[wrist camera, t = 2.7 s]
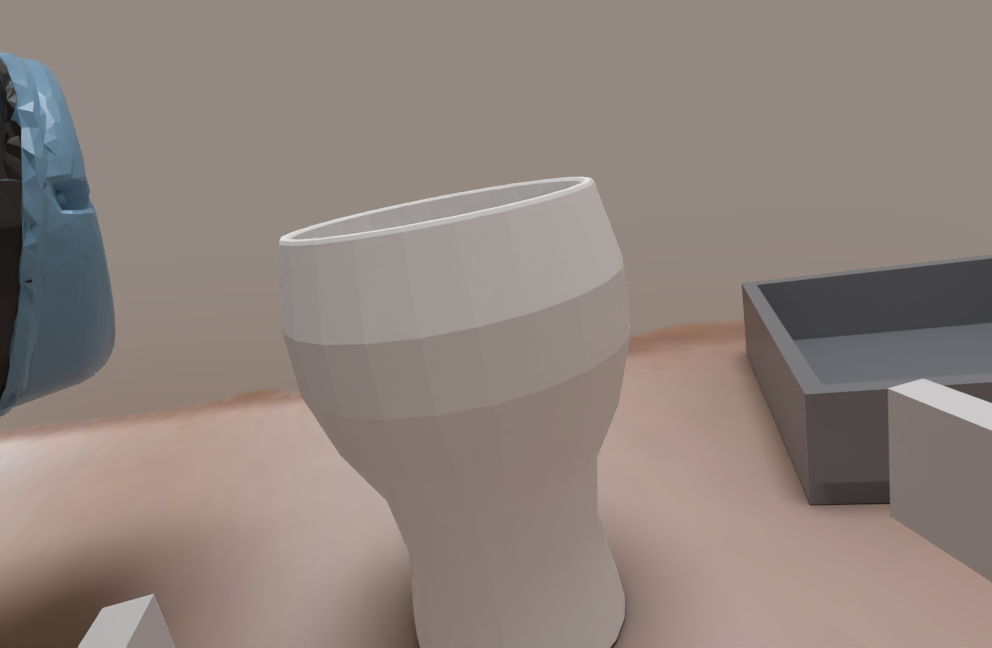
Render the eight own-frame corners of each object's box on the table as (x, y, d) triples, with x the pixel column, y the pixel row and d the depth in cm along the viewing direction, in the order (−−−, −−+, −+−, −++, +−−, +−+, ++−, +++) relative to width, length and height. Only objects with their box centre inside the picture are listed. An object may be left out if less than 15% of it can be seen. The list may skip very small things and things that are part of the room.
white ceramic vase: (351, 589, 25) (246, 235, 21) (567, 494, 29) (513, 178, 25) (434, 819, 16) (274, 261, 12) (737, 633, 20) (695, 164, 16)
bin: (810, 504, 25) (805, 394, 24) (746, 354, 42) (741, 283, 40) (1384, 492, 21) (1418, 353, 19) (1059, 327, 37) (1065, 246, 35)
